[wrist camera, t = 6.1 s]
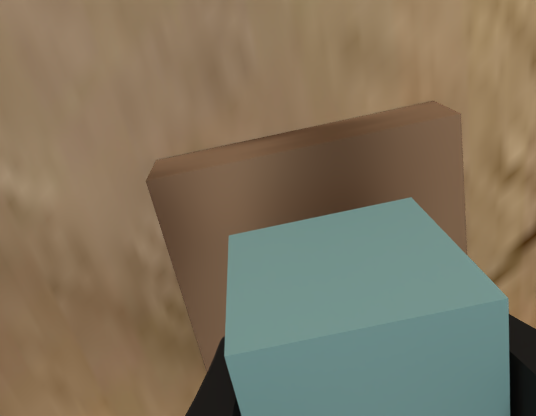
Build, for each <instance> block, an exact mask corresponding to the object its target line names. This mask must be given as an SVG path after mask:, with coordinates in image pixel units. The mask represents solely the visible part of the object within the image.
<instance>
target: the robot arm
mask: <svg viewBox="0 0 536 416" xmlns="http://www.w3.org/2000/svg"><path fill="white" fill-rule="evenodd" d="M224 351H225V337H223V338H222V339H221V340H220V342H219V345H218V348H217V350H216V353H215V355H214V358H213V360H212V363H211V365H210V367H209V370H208V372H207V374H206V376H205V378H204V380H203V382H202V384H201V387H200V389H199V391H198V393H197V395H196V397H195V399H194V401H193V403H192V404H191V406H190V408H189V410H188V412H187V413H186V415H185V416H242V415H241V412H240V409H239V405H238V402H237V398H236V395H235V391H234V388H233V385H232V381H231V378H230V374H229V371H228V368H227V364H226V361H225V357H224ZM509 373H510V416H536V329H535V328H533V327H531V326H529V325H527V324H526V323H524V322H522V321H520V320H518V319H517V318H515V317H513V316H511V315H510V314H509Z"/></svg>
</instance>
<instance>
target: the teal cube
mask: <svg viewBox="0 0 536 416" xmlns="http://www.w3.org/2000/svg"><path fill="white" fill-rule="evenodd" d="M224 357H225V361H226V364H227V368H228V371H229V374H230V378H231V381H232V385H233V388H234V391H235V395H236V398H237V402H238V405H239V409H240V412H241V415H242V416H510V373H509V309H508V297H507V296H506V295H505V294H504V293H503V292H502V291H501V290H500V289H499V288H498V287H497V286H496V285H495V284H494V283H493V282H492V281H491V280H490V279H489V278H488V277H487V276H486V275H485V273H484V272H483V271H482V270H481V269H480V268H479V267H478V266H477V265H476V264H475V263H474V262H473V261H472V260H471V259H470V258H469V257H468V256H467V255H466V254H465V253H464V252H463V251H462V250H461V249H460V247H459V246H458V245H457V244H456V243H455V242H454V241H453V240H452V239H451V238H450V237H449V236H448V235H447V234H446V233H445V232H444V231H443V230H442V229H441V228H440V227H439V226H438V225H437V224H436V222H435V221H434V220H433V219H432V218H431V217H430V216H429V215H428V214H427V213H426V212H425V211H424V210H423V209H422V208H421V207H420V206H419V205H418V204H417V203H416V202H415V201H414V200H413V199H412V197H410V198H405V199H400V200H396V201H391V202H386V203H381V204H377V205H372V206H367V207H362V208H357V209H353V210H348V211H343V212H338V213H334V214H329V215H324V216H319V217H315V218H310V219H305V220H300V221H295V222H291V223H286V224H281V225H276V226H272V227H267V228H262V229H257V230H252V231H248V232H243V233H238V234H233V235H229V241H228V269H227V296H226V323H225V351H224Z"/></svg>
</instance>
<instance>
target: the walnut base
mask: <svg viewBox="0 0 536 416" xmlns="http://www.w3.org/2000/svg"><path fill="white" fill-rule="evenodd" d="M146 183H147V186H148V189H149V192H150V195H151V199H152V202H153V205H154V208H155V211H156V214H157V217H158V221H159V224H160V227H161V230H162V233H163V236H164V239H165V242H166V246H167V249H168V252H169V255H170V258H171V261H172V264H173V268H174V271H175V274H176V277H177V280H178V283H179V286H180V289H181V293H182V296H183V299H184V302H185V305H186V308H187V311H188V315H189V318H190V321H191V324H192V327H193V330H194V333H195V336H196V340H197V343H198V346H199V349H200V352H201V355H202V358H203V362H204V365H205V368H206V371H207V372H208V370H209V367H210V365H211V363H212V360H213V358H214V355H215V353H216V350H217V348H218V345H219V342H220V340H221V339H222V338H223V337H225V323H226V296H227V269H228V241H229V235H233V234H238V233H243V232H248V231H252V230H257V229H262V228H267V227H272V226H276V225H281V224H286V223H291V222H295V221H300V220H305V219H310V218H315V217H319V216H324V215H329V214H334V213H338V212H343V211H348V210H353V209H357V208H362V207H367V206H372V205H377V204H381V203H386V202H391V201H396V200H400V199H405V198H410V197H412V199H413V200H414V201H415V202H416V203H417V204H418V205H419V206H420V207H421V208H422V209H423V210H424V211H425V212H426V213H427V214H428V215H429V216H430V217H431V218H432V219H433V220H434V221H435V222H436V224H437V225H438V226H439V227H440V228H441V229H442V230H443V231H444V232H445V233H446V234H447V235H448V236H449V237H450V238H451V239H452V240H453V241H454V242H455V243H456V244H457V245H458V246H459V247H460V249H461V250H462V251H463V252H464V253H465V254H466V255H467V240H466V218H465V195H464V173H463V151H462V128H461V114H460V113H458V112H456V111H454V110H452V109H450V108H448V107H445V106H443V105H441V104H439V103H437V102H435V101H431V102H426V103H422V104H417V105H412V106H408V107H403V108H398V109H394V110H389V111H384V112H380V113H375V114H370V115H366V116H361V117H356V118H352V119H347V120H342V121H338V122H333V123H328V124H323V125H319V126H314V127H309V128H305V129H300V130H295V131H291V132H286V133H281V134H277V135H272V136H267V137H263V138H258V139H253V140H249V141H244V142H239V143H235V144H230V145H225V146H221V147H216V148H211V149H207V150H202V151H197V152H193V153H188V154H183V155H179V156H174V157H169V158H165V159H160V160H156V162H155V164H154V166H153V168H152V170H151V172H150V174H149V176H148V178H147V180H146Z"/></svg>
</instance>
